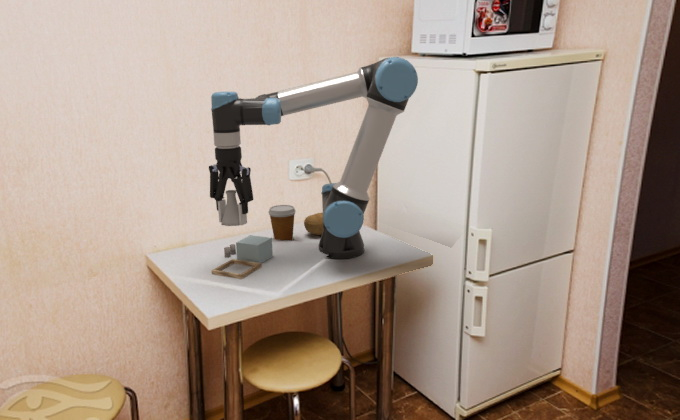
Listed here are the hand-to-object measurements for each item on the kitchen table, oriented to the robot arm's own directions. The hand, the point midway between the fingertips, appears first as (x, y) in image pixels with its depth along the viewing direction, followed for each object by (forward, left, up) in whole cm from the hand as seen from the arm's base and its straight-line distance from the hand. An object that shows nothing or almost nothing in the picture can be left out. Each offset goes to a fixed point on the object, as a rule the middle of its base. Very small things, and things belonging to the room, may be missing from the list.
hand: (233, 222), depth 169 cm
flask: (0, 0, -1) cm, 1 cm away
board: (+1, -2, -15) cm, 15 cm away
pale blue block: (-2, -8, -14) cm, 16 cm away
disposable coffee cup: (+1, -30, -15) cm, 34 cm away
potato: (-8, -42, -15) cm, 46 cm away
